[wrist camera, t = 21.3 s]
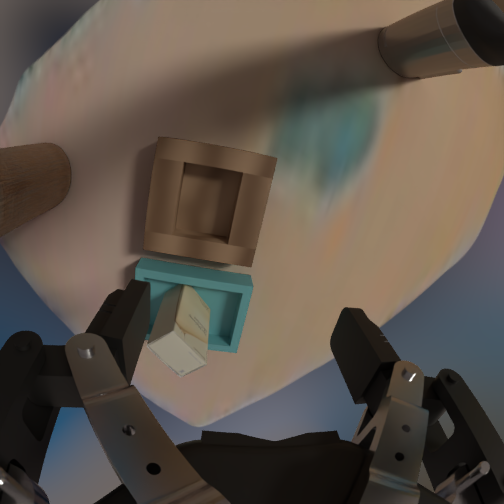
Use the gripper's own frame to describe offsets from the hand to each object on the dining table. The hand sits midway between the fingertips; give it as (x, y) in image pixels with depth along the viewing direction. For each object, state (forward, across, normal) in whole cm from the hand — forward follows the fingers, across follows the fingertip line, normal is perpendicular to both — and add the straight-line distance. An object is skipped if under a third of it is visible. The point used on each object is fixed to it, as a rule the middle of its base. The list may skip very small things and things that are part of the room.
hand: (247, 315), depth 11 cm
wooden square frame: (+28, +3, +2) cm, 28 cm away
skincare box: (+26, +4, +17) cm, 32 cm away
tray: (+27, +4, +18) cm, 33 cm away
